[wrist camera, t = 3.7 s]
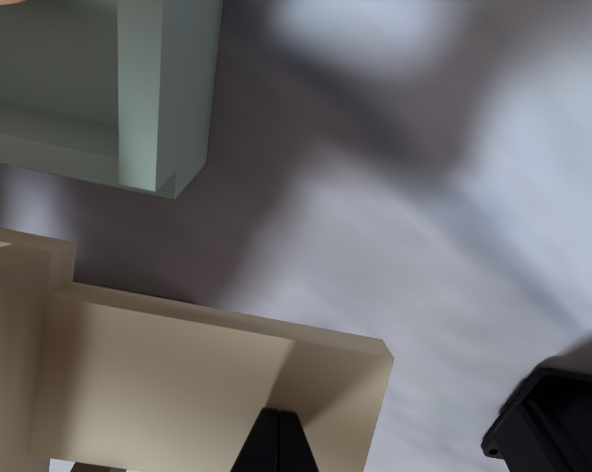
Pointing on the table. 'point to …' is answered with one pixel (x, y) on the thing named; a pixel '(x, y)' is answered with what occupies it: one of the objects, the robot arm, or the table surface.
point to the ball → (9, 1)
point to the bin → (109, 89)
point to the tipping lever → (164, 375)
